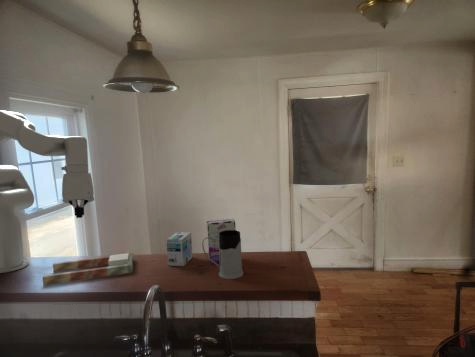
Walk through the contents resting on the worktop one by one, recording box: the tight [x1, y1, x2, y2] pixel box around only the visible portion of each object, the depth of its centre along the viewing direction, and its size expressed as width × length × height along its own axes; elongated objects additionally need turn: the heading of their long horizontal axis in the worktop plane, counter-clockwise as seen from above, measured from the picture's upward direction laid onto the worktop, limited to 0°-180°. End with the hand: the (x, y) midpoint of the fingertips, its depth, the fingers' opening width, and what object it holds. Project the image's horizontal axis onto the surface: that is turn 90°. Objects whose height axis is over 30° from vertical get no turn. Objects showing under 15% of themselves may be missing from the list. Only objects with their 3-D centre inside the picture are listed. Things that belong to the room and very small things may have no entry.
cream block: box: [108, 252, 130, 267], centre depth 120 cm, size 7×7×4 cm
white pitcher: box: [201, 230, 244, 280], centre depth 108 cm, size 9×14×15 cm, turn 91°
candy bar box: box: [206, 218, 237, 265], centre depth 121 cm, size 11×5×16 cm, turn 102°
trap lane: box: [42, 252, 134, 286], centre depth 115 cm, size 29×14×3 cm, turn 107°
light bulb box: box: [166, 231, 193, 267], centre depth 122 cm, size 11×7×11 cm, turn 168°
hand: (79, 217), depth 116 cm, fingers closed
